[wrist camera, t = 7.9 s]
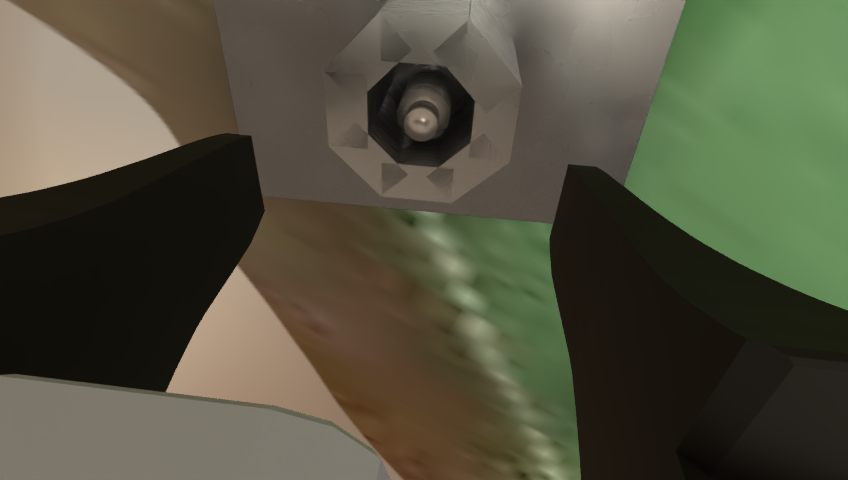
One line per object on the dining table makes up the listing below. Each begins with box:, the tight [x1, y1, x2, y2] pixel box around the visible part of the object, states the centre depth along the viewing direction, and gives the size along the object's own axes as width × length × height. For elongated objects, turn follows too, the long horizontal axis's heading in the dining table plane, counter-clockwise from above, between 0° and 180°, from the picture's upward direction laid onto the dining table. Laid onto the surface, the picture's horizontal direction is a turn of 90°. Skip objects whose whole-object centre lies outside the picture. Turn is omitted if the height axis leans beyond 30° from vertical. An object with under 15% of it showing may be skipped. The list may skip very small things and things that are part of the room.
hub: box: [323, 0, 522, 203], centre depth 16 cm, size 5×5×5 cm
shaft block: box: [213, 0, 686, 223], centre depth 16 cm, size 12×16×6 cm
